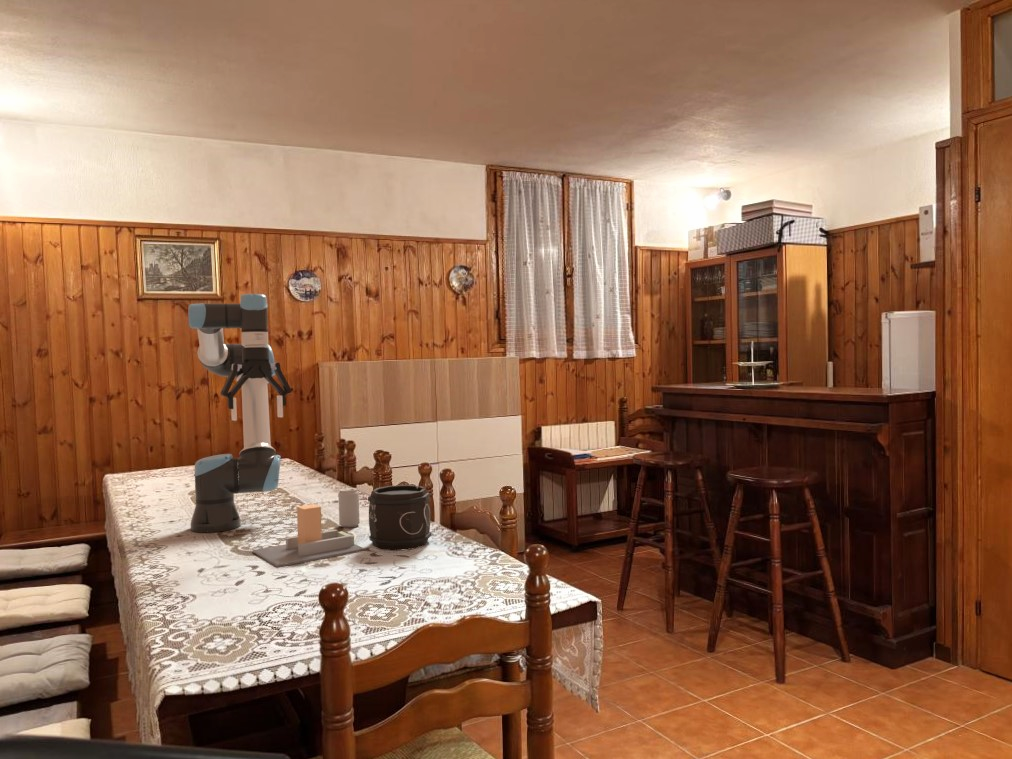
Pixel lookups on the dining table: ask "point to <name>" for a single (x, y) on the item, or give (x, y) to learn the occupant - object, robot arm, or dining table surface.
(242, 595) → the dining table surface
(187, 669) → the dining table surface
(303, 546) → the end holder
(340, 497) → the beverage can
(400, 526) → the wooden barrel
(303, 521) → the block
